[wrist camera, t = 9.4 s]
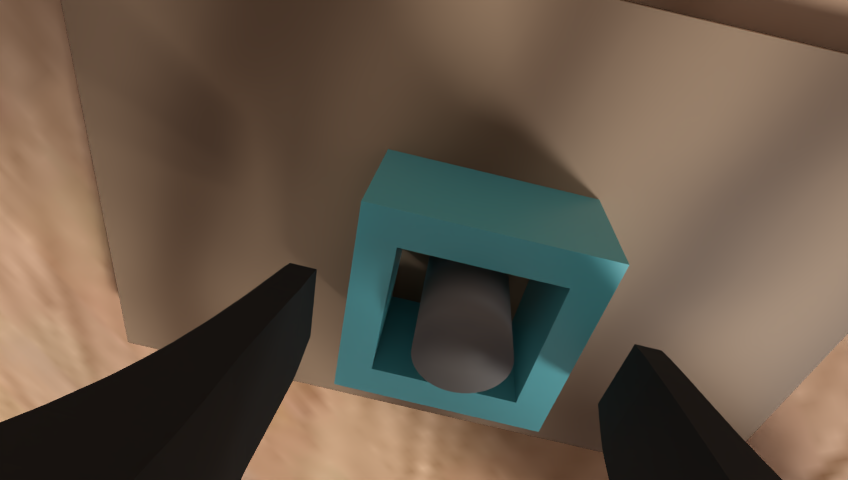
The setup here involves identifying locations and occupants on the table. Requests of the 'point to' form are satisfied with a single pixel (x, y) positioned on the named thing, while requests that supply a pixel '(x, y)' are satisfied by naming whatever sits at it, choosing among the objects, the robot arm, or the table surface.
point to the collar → (487, 248)
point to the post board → (484, 151)
